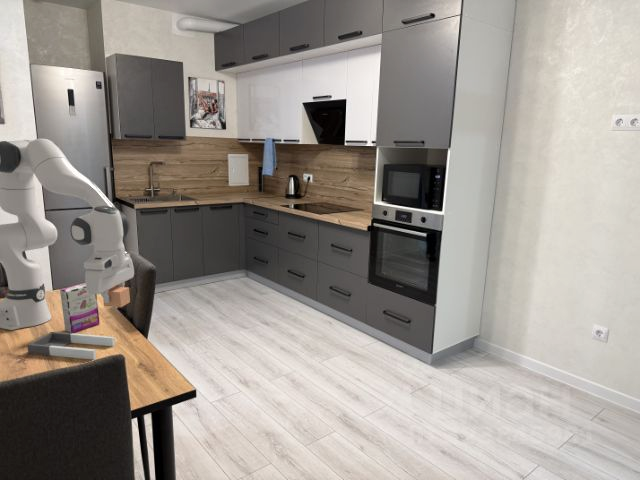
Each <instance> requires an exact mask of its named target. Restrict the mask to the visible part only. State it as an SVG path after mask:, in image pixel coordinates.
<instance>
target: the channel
mask: <svg viewBox="0 0 640 480" xmlns="http://www.w3.org/2000/svg"><path fill="white" fill-rule="evenodd" d="M70 336H71V343H73V344H83V345H94V346H95V345H96V346H105V347H115V344H116V343H115V337H114V336H105V335H95V334H86V333H84V334H83V333H72V334H70ZM71 343H70V344H71ZM49 352H50V355H49V356H52V357H61V358H62V357H64V358H73V359H74V358H75V359H82V360H83V359H84V360H95V359H97V353H96V349H95V348H94V349H92V348H91V349H90V348H82V347H81V348H80V347H71V346H70V347H69V346H65V347H61V346H50V347H49Z"/></svg>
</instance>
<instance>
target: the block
mask: <svg viewBox="0 0 640 480" xmlns="http://www.w3.org/2000/svg"><path fill="white" fill-rule="evenodd" d="M130 294H131V293H130V287H126V286H124V287H117V286H115V287H113V288H111V289H109V293H108V295H109V296H111V302H109V303H104V302H103V306H104V307H110V308H114V307H115V308H122V307H124V306H126V305H128V304H129V303H130V302H131V295H130Z"/></svg>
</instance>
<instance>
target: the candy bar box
mask: <svg viewBox="0 0 640 480" xmlns="http://www.w3.org/2000/svg"><path fill="white" fill-rule="evenodd" d="M59 293H60V301H61V302H60V303H61V308H62V316H63V322H64V323H63V324H64V331H65V332H66V333H74V334H76V333H79V332H81V331H83V330H87V329H89V328H92V327H94V326H95V327H96V326H97V325H100V324H101V323H100V314H99V313H100V312H99V305H98V297H97V295H95V294H89V293H88V292H87V290H86V282H84V283H80V284H76V285H71V286H69V287H65V288H60V289H59Z"/></svg>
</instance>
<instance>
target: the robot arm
mask: <svg viewBox="0 0 640 480" xmlns="http://www.w3.org/2000/svg"><path fill="white" fill-rule="evenodd" d="M34 177H36V179H37V180H38V182H39V183H40V185H41V186H42V187H43V188H44V189H46V190H47V191H48V192H51V193H53V194H58V195H64V196H69V197H75V198H79V199H81V200H84V201H85V202H86V203H87V204H89V205H90V207H91V208H92V210H91V212H89V213H86V214H84V215H81V216H78V217H75V218H74V219H73V221H72V222H71V224H70V230H69V231H70V236H71V238H72V240H73V241H74V242H75V243H77V244H78V245H81V246H92V245H93V253H92V254H91V256H90V257H88V259H87V260H85V261H84V262H83V268H84V269H85V270H86V271H85V273H84V281H85V282H84V283H86V290H87V292H88V293H89V294H95V295H98V296H99V295H100V296H101V297H102V301H103V304H104V303H109V302H111V296H109V295H108V293H109V289H111V288H113V287H125V285H126V282H127V281H129V280H131V279H133V278H134V275H135V268H134V264H133V259H132V257H131V254H130V253H129V252H128V251H126V249H125V244H124V241H123V240H124V239H126V237H127V236H128V235H129V232H130V229H131V225H130V224H131V223H130V221H129V219H128V217H127V216H126V214H124V213H123V212H122V211H120V210H119V209H118V208H117V207H116V206H115V205H114V204H113V203H112V202H111V200H110V199H109V198H108V197H107V196H106V195H105V193H104V192H103V191H102V190H101V188H100V187H98V185H97V184H96V183H95V182H94V181H93V180H91V179H90V178H89V177H88V176H85V175H84V174H82V173H81V172H80V171H78V170H77V169H76V168H75V167H74V166H73V165H72V163H71V162H70V161H69V160H68V158H67V156H66V155H65V154H64V153H63V151H62V150H61V148H60V147H59V145H58V144H57V143H55V142H54V141H52V140H50V139H47V138H42V137H41V138H37V139H23V140H22V139H21V140H9V141H7V140H1V141H0V209H1V210H2V211H3V212H5V213H8V214H10V215H13V216H16V217H17V222H13V223H11V222H10V223H3V224H0V263H1V265H2V267H3V268H4V271H5V275H6V279H7V284H8V287H7V288H5V289H3V290H2V293H3V294H5V297H4V298H3V299H2V300H1V301H0V329H4V330H9V331H14V330H19V329H22V328H30V327H34V326H38V325H41V324H44V323H46V322H48V321H50V320H51V319H52V318H53V317H52V315H51V312H50V309H49V306H48V302H47V299H46V286H45V283H43V275H42V267H41V265H40V263H38V262H37V261H35V260H32V259H28V258H25V257H24V256H23V252H26V251H31V250H33V251H34V250H38V249H44V248H47V247H49V246H52V245H54V244H55V243H56V241H57V239H58V229H57V227H56V225H54V223H52V222H51V221H49V220H47V219H46V218H45V217H44V216H42V214H41V213H40V211H39V210H38V207H37V201H36V200H37V199H36V192H35V191H36V189H35V179H34Z"/></svg>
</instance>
